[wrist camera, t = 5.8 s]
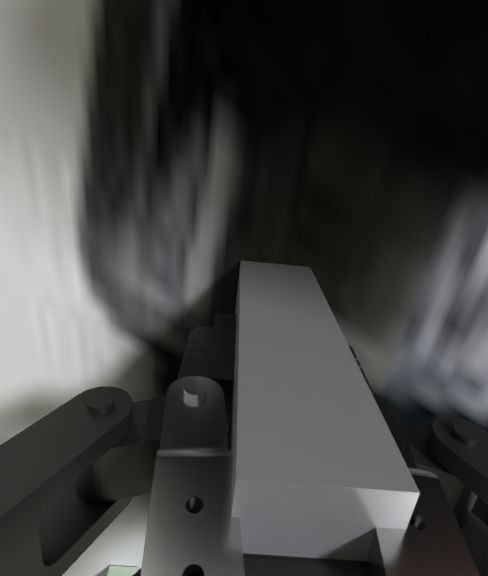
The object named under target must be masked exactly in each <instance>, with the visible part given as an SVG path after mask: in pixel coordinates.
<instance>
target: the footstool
mask: <svg viewBox="0 0 488 576" xmlns="http://www.w3.org/2000/svg"><path fill="white" fill-rule="evenodd" d="M137 571H138V567H126V566H110V567H109V570H108V573H107V576H132V575H134V574H135V573H136V572H137Z"/></svg>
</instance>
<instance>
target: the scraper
mask: <svg viewBox="0 0 488 576" xmlns="http://www.w3.org/2000/svg"><path fill="white" fill-rule="evenodd" d="M235 314H236V340H235V365H234V383H233V392H232V401H231V410H230V419H229V427H228V436H227V440H228V450H232V452H233V476H232V506H231V517H238V518H239V519H240V529H241V540H242V550H243V553H248V554H263V555H278V556H293V557H308V558H323V559H337V560H352V561H367V562H369V556H368V549H369V546H370V543H371V540H372V537H373V534H374V531H375V528H376V527H379V528H394V529H407V526H408V524H409V521H410V518H411V516H412V513H413V510H414V508H415V505H416V502H417V499H418V497H419V494H420V492H419V490H418V488H417V486H416V483H415V481H414V479H413V477H412V475H411V473H410V471H409V469H408V467H407V465H406V463H405V461H404V459H403V457H402V455H401V453H400V451H399V449H398V446H397V444H396V442H395V440H394V438H393V436H392V434H391V432H390V430H389V428H388V426H387V424H386V422H385V420H384V418H383V416H382V414H381V411H380V409H379V407H378V405H377V403H376V401H375V399H374V397H373V395H372V393H371V391H370V389H369V387H368V385H367V383H366V381H365V379H364V377H363V374H362V372H361V370H360V368H359V366H358V364H357V362H356V360H355V358H354V356H353V354H352V352H351V350H350V348H349V346H348V344H347V342H346V339H345V337H344V335H343V333H342V331H341V329H340V327H339V325H338V323H337V321H336V319H335V317H334V315H333V313H332V311H331V309H330V307H329V305H328V302H327V300H326V298H325V296H324V294H323V292H322V290H321V288H320V286H319V284H318V282H317V280H316V278H315V276H314V274H313V272H312V270H311V267H304V266H294V265H284V264H274V263H263V262H253V261H243V260H241V262H240V271H239V281H238V290H237V300H236V309H235Z"/></svg>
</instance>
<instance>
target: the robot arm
mask: <svg viewBox="0 0 488 576" xmlns="http://www.w3.org/2000/svg"><path fill="white" fill-rule="evenodd" d="M235 340H236V314H228V313H217V312H216V313H215V319H214V326H213V327H206V326H197V327H196V328H195V329H194V330H192V331H191V332H190V333H189V336H188V340H187V344H186V347H185V352H184V355H183V359H182V363H181V366H180V370H179V374H178V378H177V380H176V381H174V382H173V383H172V384H171V385H170V386H169V387H168V389H167V393H166V394H165V395H164V396H161V397H159V398H156V399H153V400H148V401H141V402H134V403H133V400H132V398H131V396H130V395H129V394H128V393H127V392H126V391H124V390H122V389H119V388H116V387H97V388H93V389H89V390H87V391H84V392H82V393H81V394H79V395H77V396H76V397H74V398H73V399H71V400H70V401H68V402H67V403H65V404H63V405H62V406H60V407H59V408H57V409H56V410H54V411H53V412H51V413H50V414H48V415H46V416H45V417H43V418H42V419H40V420H39V421H37V422H36V423H34V424H33V425H31V426H29V427H28V428H26V429H25V430H23V431H22V432H20V433H19V434H17V435H16V436H14V437H13V438H11V439H9V440H8V441H6V442H5V443H3V444H2V445H0V576H62V575H63V574H64V573H65V572H66V571H67V569H68V568H69V567H70V566H71V565H72V564H73V563H74V562H75V561H76V560H77V559H78V558H79V557H80V556H81V554H82V553H83V552H84V551H85V550H86V549H87V548H88V547H89V546H90V545H91V544H92V543H93V542H94V541H95V539H96V538H97V537H98V536H99V535H100V534H101V533H102V532H103V531H104V530H105V529H106V528H107V527H108V526H109V524H110V523H111V522H112V521H113V520H114V519H115V518H116V517H117V516H118V515H119V514H120V513H121V512H122V511H123V510H124V508H125V507H126V506H127V505H128V504H129V502H130V501H131V499H132V496H137V495H141V494H146V493H150V492H152V493H151V500H150V508H149V515H148V523H147V531H146V538H145V546H144V554H143V561H142V568H141V569H140V570H139V571H137V572H136V573H135V574H134V575H132V576H488V526H487V525H486V524H485V523H484V522H482V521H481V520H480V519H479V518H478V517H477V516H476V515H475V514H474V513H473V512H472V511H471V510H472V508H473V506H474V504H475V502H476V500H477V497H479V498H480V499H481V500H483V501H484V502H485V503H486V504H487V505H488V432H486V431H485V430H483V429H482V428H480V427H479V426H477V425H476V424H474V423H472V422H470V421H467V420H465V419H462V418H458V417H453V416H442V417H439V418H437V419H436V420H435V421H434V422H433V425H432V428H431V429H429V428H426V427H422V426H419V425H416V424H412V423H409V422H406V421H403V420H401V419H399V418H398V415H397V412H396V410H395V408H394V407H393V406H392V405H391V404H390V402H388V401H387V400H386V399H384V398H383V397H381V396H379V395H377V394H375V393H373V391H372V389H371V387H370V385H369V383H368V381H367V379H366V376H365V374H364V372H363V370H362V368H361V366H360V364H359V362H358V360H357V357H356V355H355V353H354V351H353V349H352V347H350V346H349V345H348V346H349V348H350V350H351V352H352V354H353V356H354V358H355V360H356V362H357V364H358V366H359V368H360V370H361V372H362V374H363V377H364V379H365V381H366V383H367V385H368V387H369V389H370V391H371V393H372V395H373V397H374V399H375V401H376V403H377V405H378V407H379V409H380V411H381V414H382V416H383V418H384V420H385V422H386V424H387V426H388V428H389V430H390V432H391V434H392V436H393V438H394V440H395V442H396V444H397V446H398V449H399V451H400V453H401V455H402V457H403V459H404V461H405V463H406V465H407V467H408V469H409V471H410V473H411V475H412V477H413V479H414V481H415V483H416V486H417V488H418V490H419V492H420V494H419V497H418V499H417V502H416V505H415V508H414V510H413V513H412V516H411V518H410V521H409V524H408V526H407V529H394V528H379V527H376V528H375V531H374V534H373V537H372V540H371V543H370V546H369V549H368V556H369V562H367V561H352V560H337V559H323V558H308V557H293V556H278V555H263V554H248V553H243V550H242V540H241V529H240V519H239V518H238V517H231V506H232V476H233V452H232V450H228V440H227V436H228V427H229V419H230V410H231V401H232V392H233V383H234V365H235Z"/></svg>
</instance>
